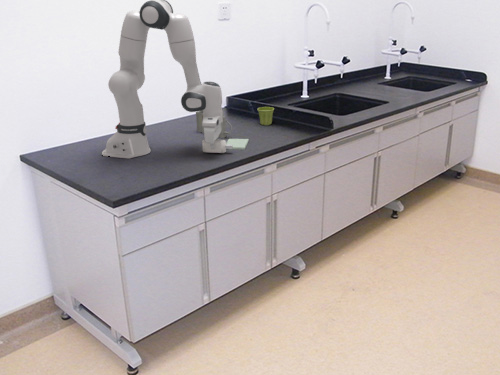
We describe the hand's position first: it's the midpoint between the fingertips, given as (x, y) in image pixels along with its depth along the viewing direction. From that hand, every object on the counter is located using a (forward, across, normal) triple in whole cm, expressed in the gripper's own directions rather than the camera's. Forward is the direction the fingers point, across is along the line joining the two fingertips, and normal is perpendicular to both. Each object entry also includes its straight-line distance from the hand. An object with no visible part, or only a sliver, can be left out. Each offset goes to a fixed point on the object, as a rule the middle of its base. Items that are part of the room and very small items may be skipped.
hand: (214, 147), depth 230 cm
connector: (+2, 0, +2) cm, 2 cm away
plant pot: (+3, -53, +18) cm, 56 cm away
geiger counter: (+3, -30, -6) cm, 31 cm away
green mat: (+3, -13, +8) cm, 16 cm away
